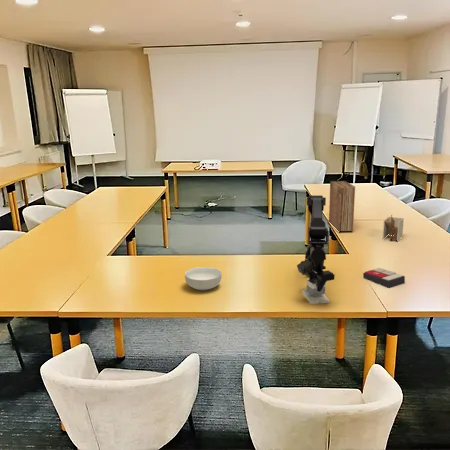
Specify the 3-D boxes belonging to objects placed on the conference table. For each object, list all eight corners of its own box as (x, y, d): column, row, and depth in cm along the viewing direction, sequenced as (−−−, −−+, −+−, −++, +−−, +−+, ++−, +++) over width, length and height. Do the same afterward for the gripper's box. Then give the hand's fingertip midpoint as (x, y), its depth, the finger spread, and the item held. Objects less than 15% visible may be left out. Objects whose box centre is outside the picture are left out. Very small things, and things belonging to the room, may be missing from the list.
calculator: (379, 266, 216) (405, 274, 203) (378, 275, 217) (405, 283, 204) (362, 271, 211) (388, 279, 198) (362, 280, 211) (388, 288, 199)
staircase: (382, 240, 269) (384, 214, 265) (387, 236, 278) (389, 210, 273) (397, 243, 264) (399, 215, 260) (402, 238, 273) (404, 212, 269)
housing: (318, 289, 193) (319, 277, 192) (325, 293, 189) (325, 281, 187) (306, 291, 192) (306, 279, 190) (312, 296, 187) (313, 283, 186)
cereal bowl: (209, 297, 194) (209, 282, 192) (178, 290, 202) (177, 275, 200) (228, 283, 208) (228, 269, 206) (198, 278, 216) (197, 264, 214)
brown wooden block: (353, 232, 286) (355, 186, 278) (338, 233, 286) (340, 187, 278) (341, 222, 310) (343, 180, 303) (328, 223, 310) (330, 180, 302)
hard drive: (301, 289, 197) (310, 301, 185) (319, 288, 198) (329, 299, 186) (301, 293, 197) (310, 305, 185) (319, 291, 198) (329, 303, 186)
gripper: (289, 250, 192) (288, 284, 196) (311, 264, 175) (310, 300, 179) (312, 247, 195) (311, 280, 199) (336, 260, 178) (334, 296, 182)
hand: (316, 289), depth 190 cm, fingers closed on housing, 5 cm apart
